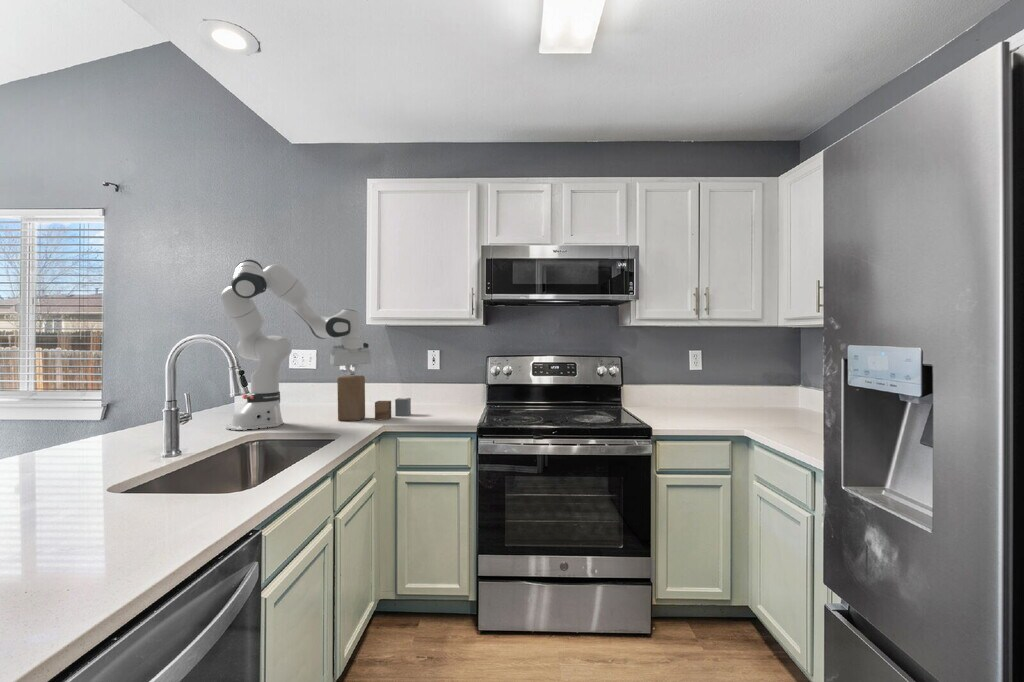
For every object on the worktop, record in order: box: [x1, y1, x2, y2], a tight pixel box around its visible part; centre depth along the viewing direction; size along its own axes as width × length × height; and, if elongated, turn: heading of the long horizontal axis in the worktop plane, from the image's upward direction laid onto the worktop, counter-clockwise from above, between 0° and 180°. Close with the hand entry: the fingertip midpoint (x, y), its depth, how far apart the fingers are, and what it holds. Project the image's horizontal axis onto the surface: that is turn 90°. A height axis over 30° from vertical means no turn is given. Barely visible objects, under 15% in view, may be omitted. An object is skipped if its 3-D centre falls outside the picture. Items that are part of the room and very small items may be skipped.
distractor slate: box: [394, 397, 412, 417], centre depth 250 cm, size 6×6×8 cm
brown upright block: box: [374, 400, 392, 421], centre depth 240 cm, size 6×6×8 cm
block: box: [336, 374, 366, 422], centre depth 238 cm, size 10×10×20 cm
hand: (351, 374), depth 238 cm, fingers closed
